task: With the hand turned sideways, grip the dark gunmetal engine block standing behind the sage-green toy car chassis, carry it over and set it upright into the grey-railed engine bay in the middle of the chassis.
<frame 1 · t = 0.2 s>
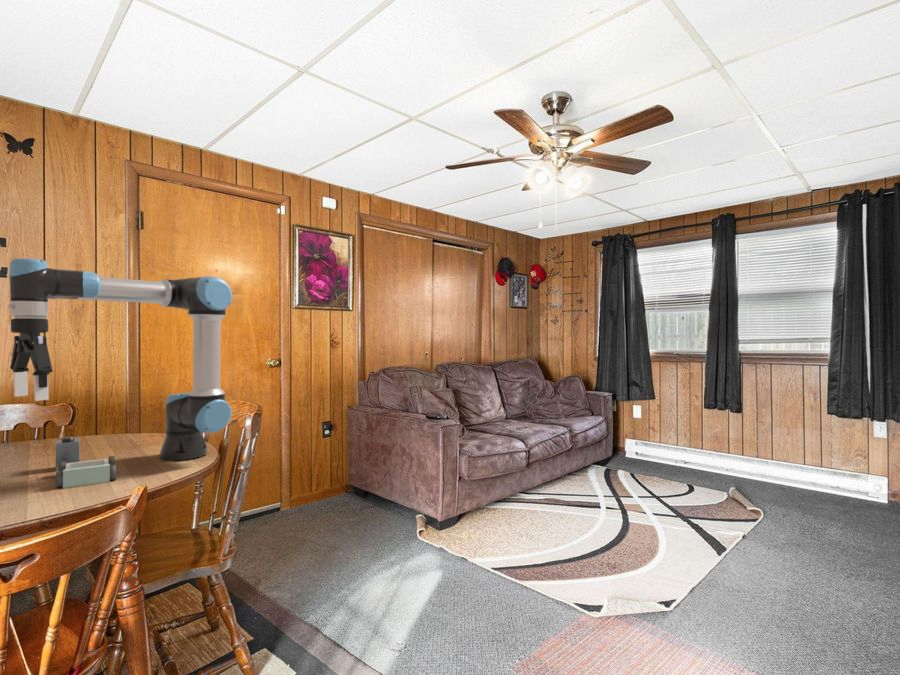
hand: (31, 398, 129), 27 cm above the table, tool pointing down, fingers open, 13 cm apart
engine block: (68, 468, 160), on the table
toy car chassis: (87, 477, 150), on the table
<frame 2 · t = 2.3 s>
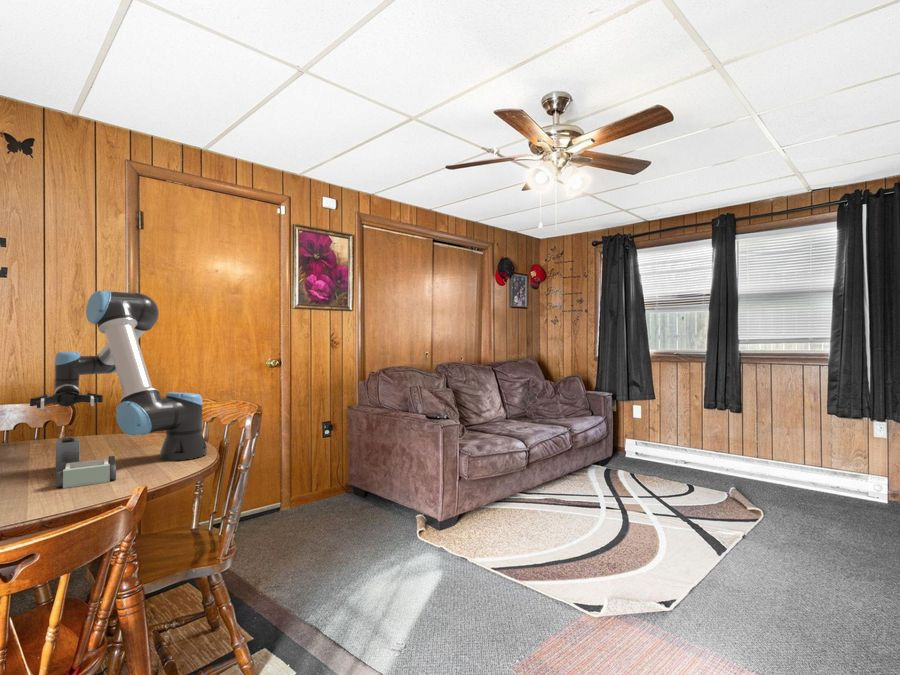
hand: (68, 403, 166), 20 cm above the table, tool horizontal, fingers open, 13 cm apart
nothing on the table moved.
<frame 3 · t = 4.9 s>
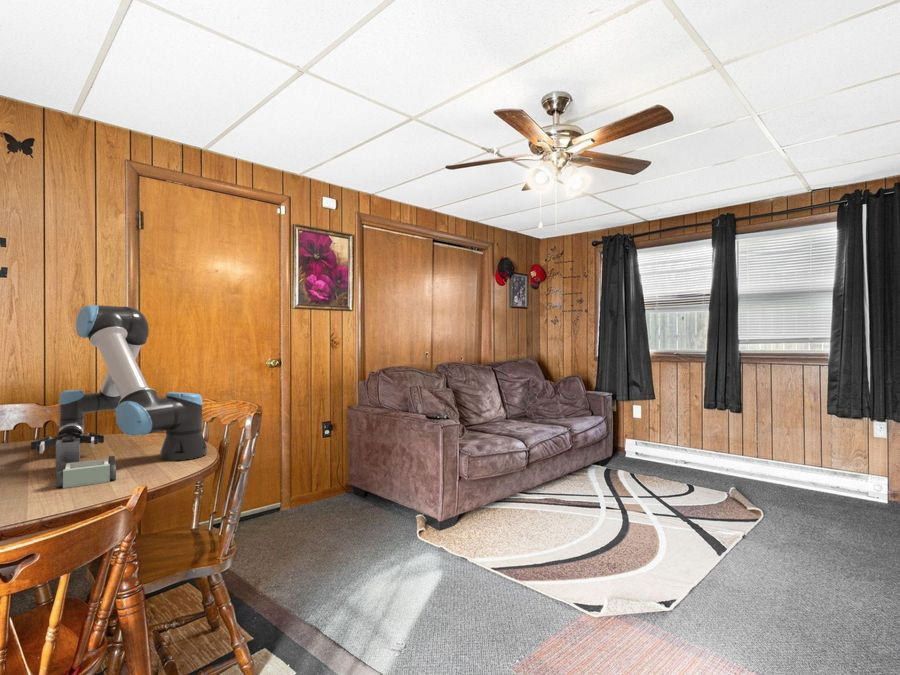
hand: (67, 446, 164), 6 cm above the table, tool horizontal, fingers open, 13 cm apart
nothing on the table moved.
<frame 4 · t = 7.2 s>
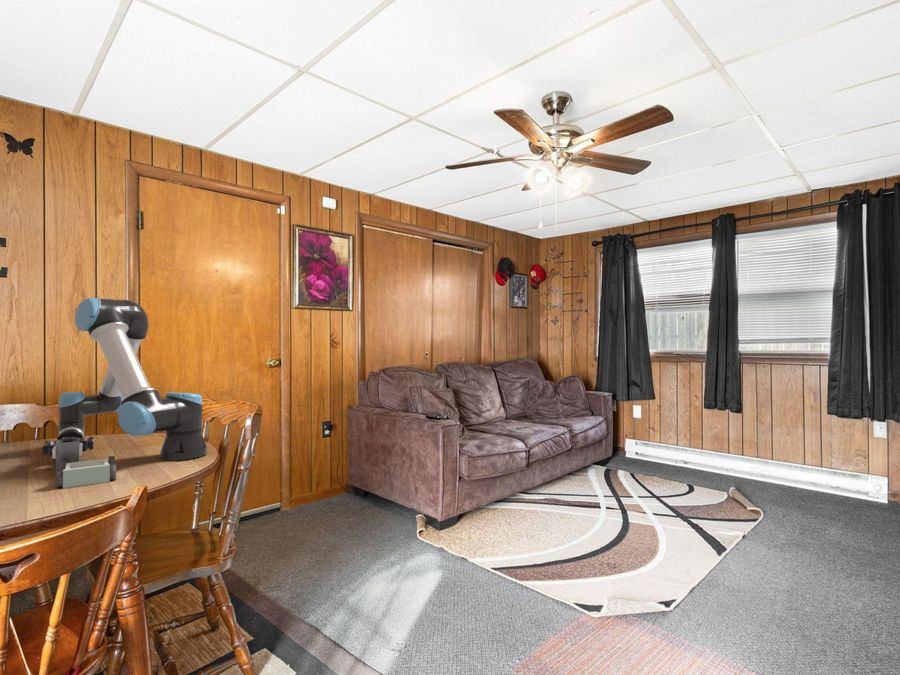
hand: (67, 452, 155), 6 cm above the table, tool horizontal, fingers closed on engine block, 6 cm apart
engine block: (68, 467, 160), on the table, touching gripper
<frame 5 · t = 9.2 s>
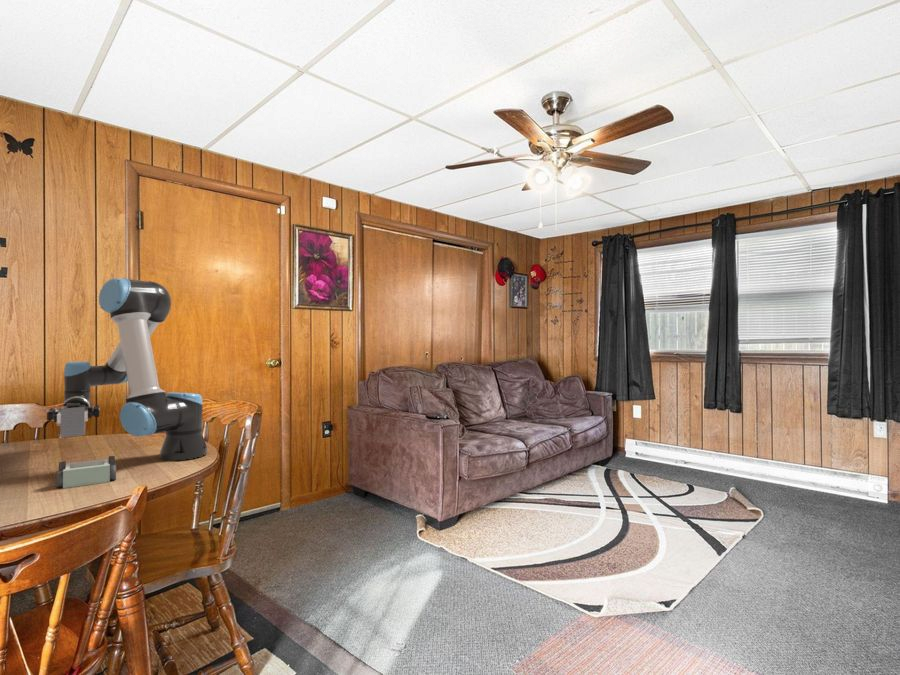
hand: (72, 418, 151), 18 cm above the table, tool horizontal, fingers closed on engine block, 6 cm apart
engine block: (73, 434, 155), point 12 cm above the table, touching gripper
when the fingers open (10 cm above the table, at t = 11.6 s): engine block drops 2 cm, resting on toy car chassis.
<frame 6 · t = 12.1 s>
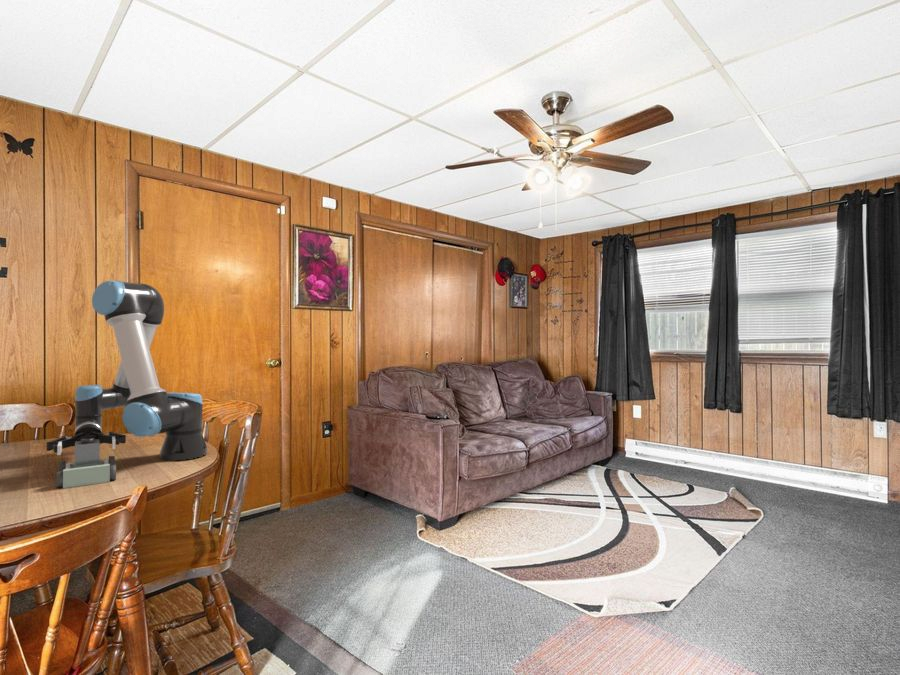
hand: (87, 447, 147), 10 cm above the table, tool horizontal, fingers open, 13 cm apart
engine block: (87, 471, 150), point 2 cm above the table, touching toy car chassis
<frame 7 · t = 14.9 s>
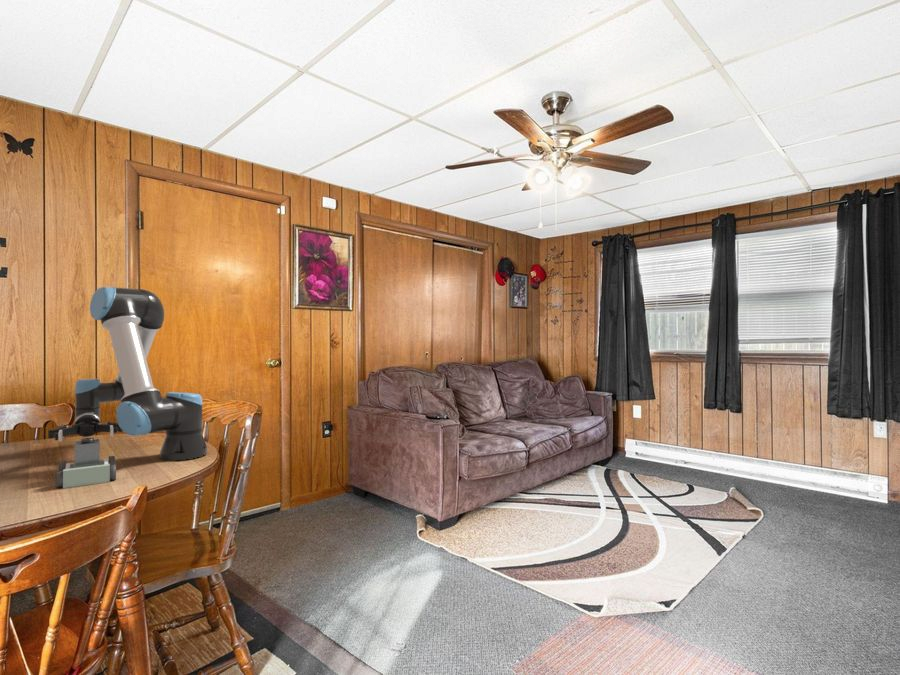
hand: (86, 435, 158), 11 cm above the table, tool horizontal, fingers open, 13 cm apart
nothing on the table moved.
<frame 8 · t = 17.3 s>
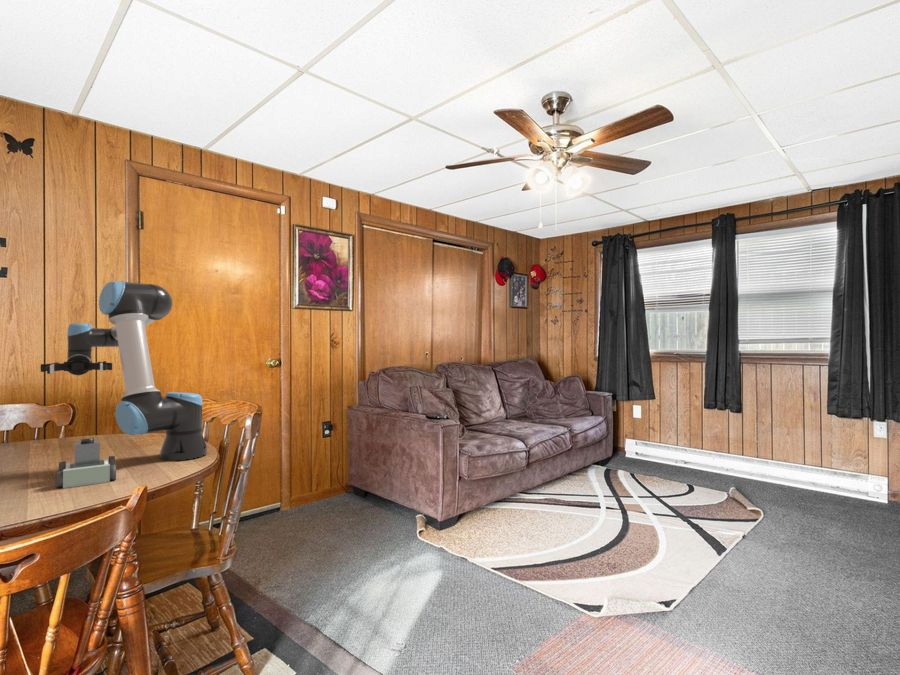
hand: (77, 368, 166), 32 cm above the table, tool horizontal, fingers open, 13 cm apart
nothing on the table moved.
at the end: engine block 0.1 cm off-centre on the toy car chassis, point 2.0 cm above the toy car chassis's base; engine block tilted 0°; the gripper is holding nothing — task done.
